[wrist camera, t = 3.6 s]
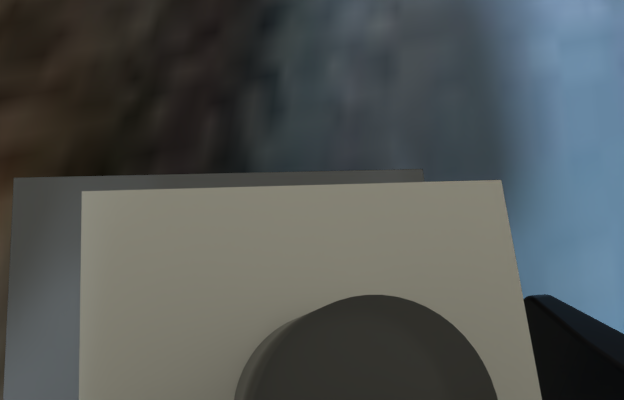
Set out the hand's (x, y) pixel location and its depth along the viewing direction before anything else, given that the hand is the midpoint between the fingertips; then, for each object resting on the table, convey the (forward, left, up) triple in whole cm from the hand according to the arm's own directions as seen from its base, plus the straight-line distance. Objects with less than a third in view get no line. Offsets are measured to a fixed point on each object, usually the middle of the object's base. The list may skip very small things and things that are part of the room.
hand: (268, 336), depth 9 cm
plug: (-1, -1, -7) cm, 7 cm away
